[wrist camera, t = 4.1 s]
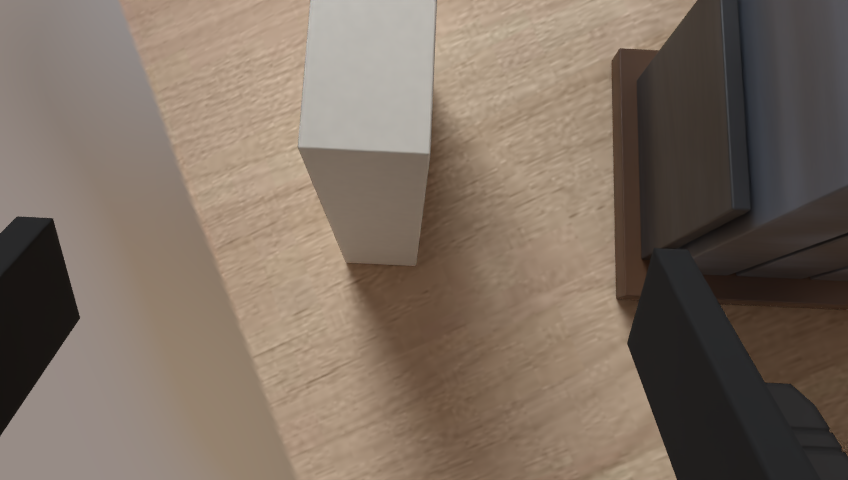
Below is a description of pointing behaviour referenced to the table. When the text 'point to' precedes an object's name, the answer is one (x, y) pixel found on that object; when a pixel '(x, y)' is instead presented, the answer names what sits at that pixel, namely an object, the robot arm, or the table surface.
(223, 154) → the table surface
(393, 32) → the white book
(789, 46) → the grey book row
